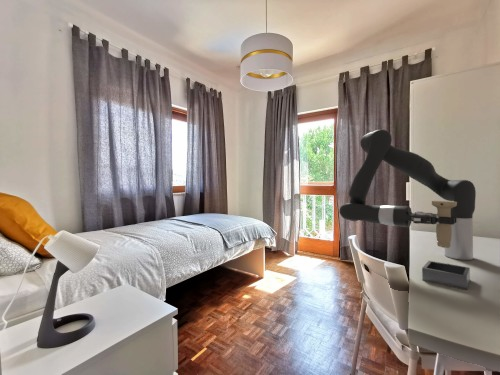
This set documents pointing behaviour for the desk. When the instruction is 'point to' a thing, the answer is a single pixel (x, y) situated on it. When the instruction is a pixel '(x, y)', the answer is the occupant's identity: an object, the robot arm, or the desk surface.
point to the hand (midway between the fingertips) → (455, 220)
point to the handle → (444, 229)
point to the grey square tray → (446, 274)
